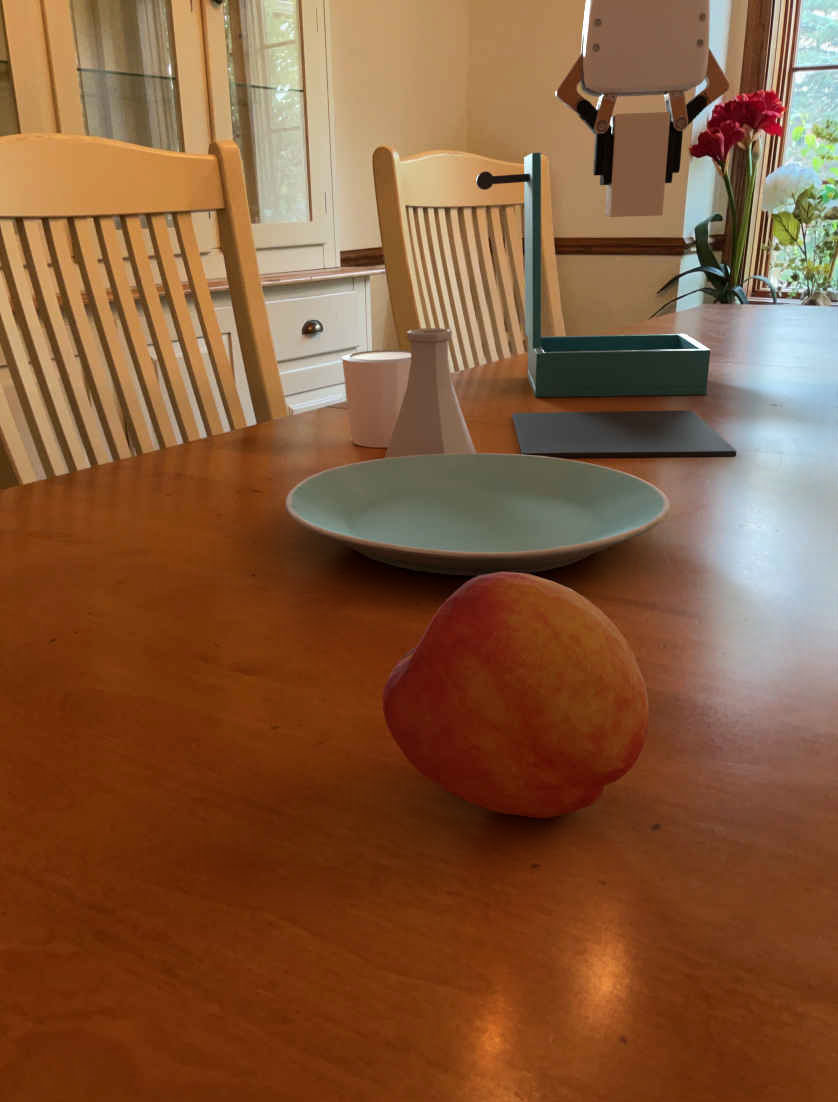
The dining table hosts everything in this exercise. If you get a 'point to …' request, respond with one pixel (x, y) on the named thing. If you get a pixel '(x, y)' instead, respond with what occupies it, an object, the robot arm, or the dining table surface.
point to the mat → (618, 434)
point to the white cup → (375, 393)
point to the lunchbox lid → (527, 238)
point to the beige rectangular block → (638, 164)
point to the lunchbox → (618, 366)
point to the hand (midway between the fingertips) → (635, 181)
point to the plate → (476, 510)
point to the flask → (429, 402)
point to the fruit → (519, 698)
